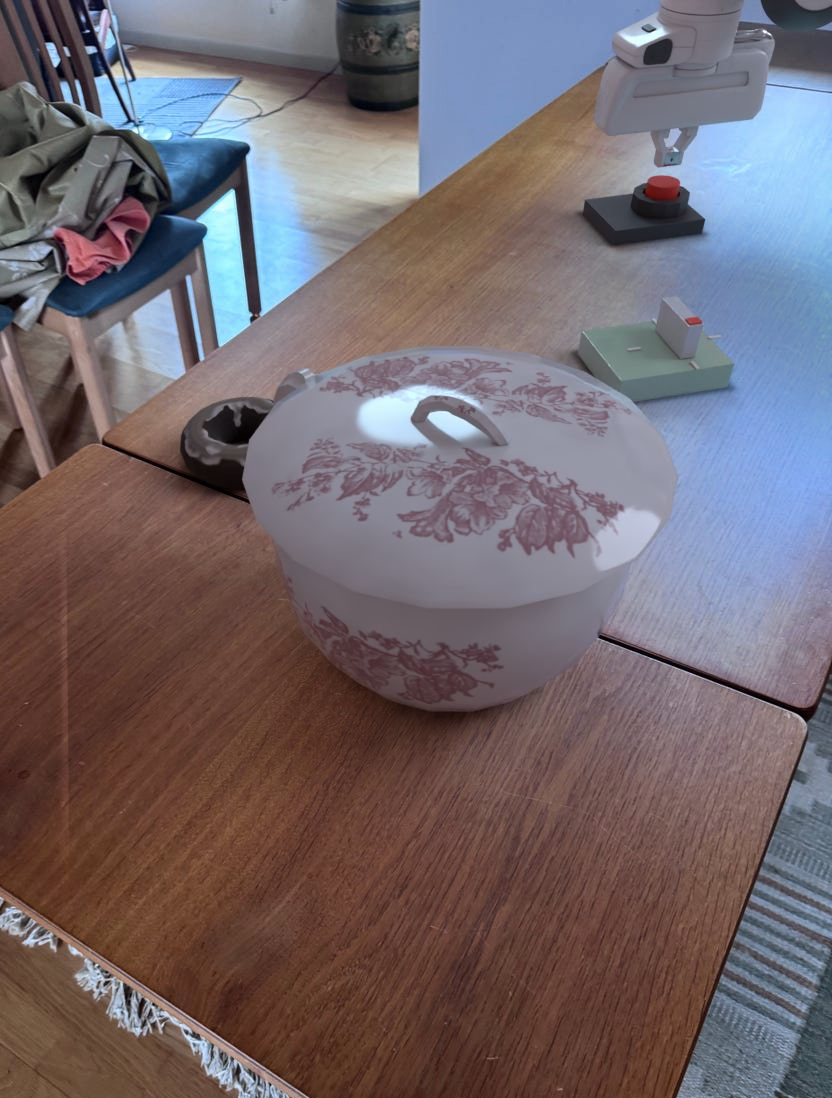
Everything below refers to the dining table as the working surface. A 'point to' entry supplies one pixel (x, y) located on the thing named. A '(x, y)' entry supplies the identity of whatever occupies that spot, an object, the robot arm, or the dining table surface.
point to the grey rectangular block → (679, 327)
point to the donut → (222, 439)
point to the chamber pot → (456, 516)
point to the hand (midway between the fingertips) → (666, 164)
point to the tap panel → (651, 362)
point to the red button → (662, 187)
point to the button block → (643, 217)
